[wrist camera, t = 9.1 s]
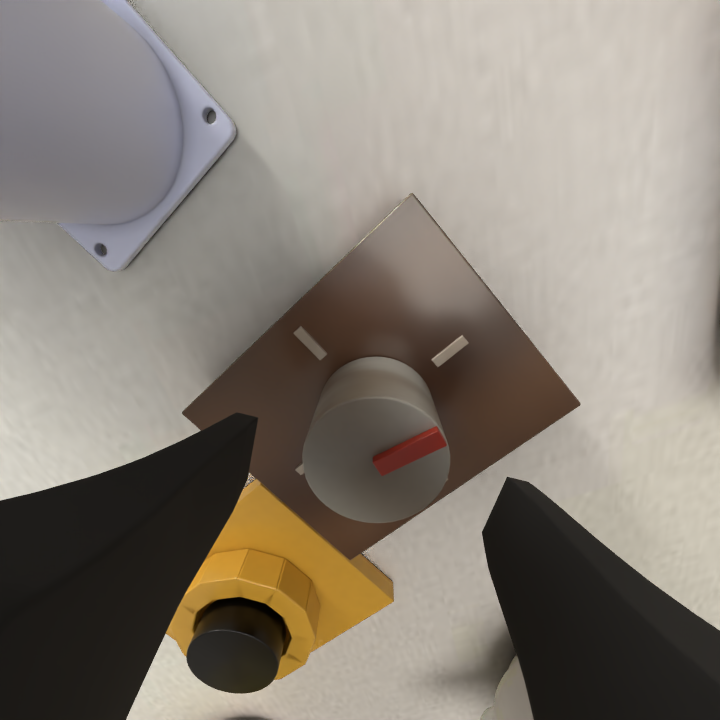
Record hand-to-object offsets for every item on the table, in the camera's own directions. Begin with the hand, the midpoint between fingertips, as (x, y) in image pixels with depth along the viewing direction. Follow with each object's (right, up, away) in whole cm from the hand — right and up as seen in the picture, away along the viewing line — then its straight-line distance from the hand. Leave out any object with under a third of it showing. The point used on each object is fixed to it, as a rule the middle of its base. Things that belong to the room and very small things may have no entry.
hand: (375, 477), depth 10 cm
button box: (-6, -10, +11) cm, 16 cm away
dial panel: (0, +2, +7) cm, 7 cm away
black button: (-6, -11, +9) cm, 15 cm away
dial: (0, +1, +4) cm, 4 cm away
